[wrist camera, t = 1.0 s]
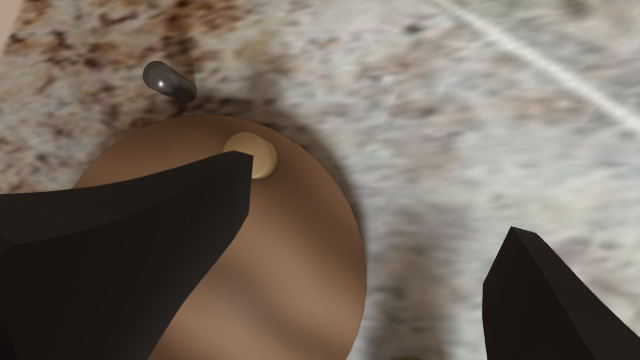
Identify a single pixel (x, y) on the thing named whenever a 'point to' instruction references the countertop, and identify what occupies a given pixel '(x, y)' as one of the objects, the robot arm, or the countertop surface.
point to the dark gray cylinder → (168, 82)
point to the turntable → (258, 247)
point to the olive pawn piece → (406, 359)
